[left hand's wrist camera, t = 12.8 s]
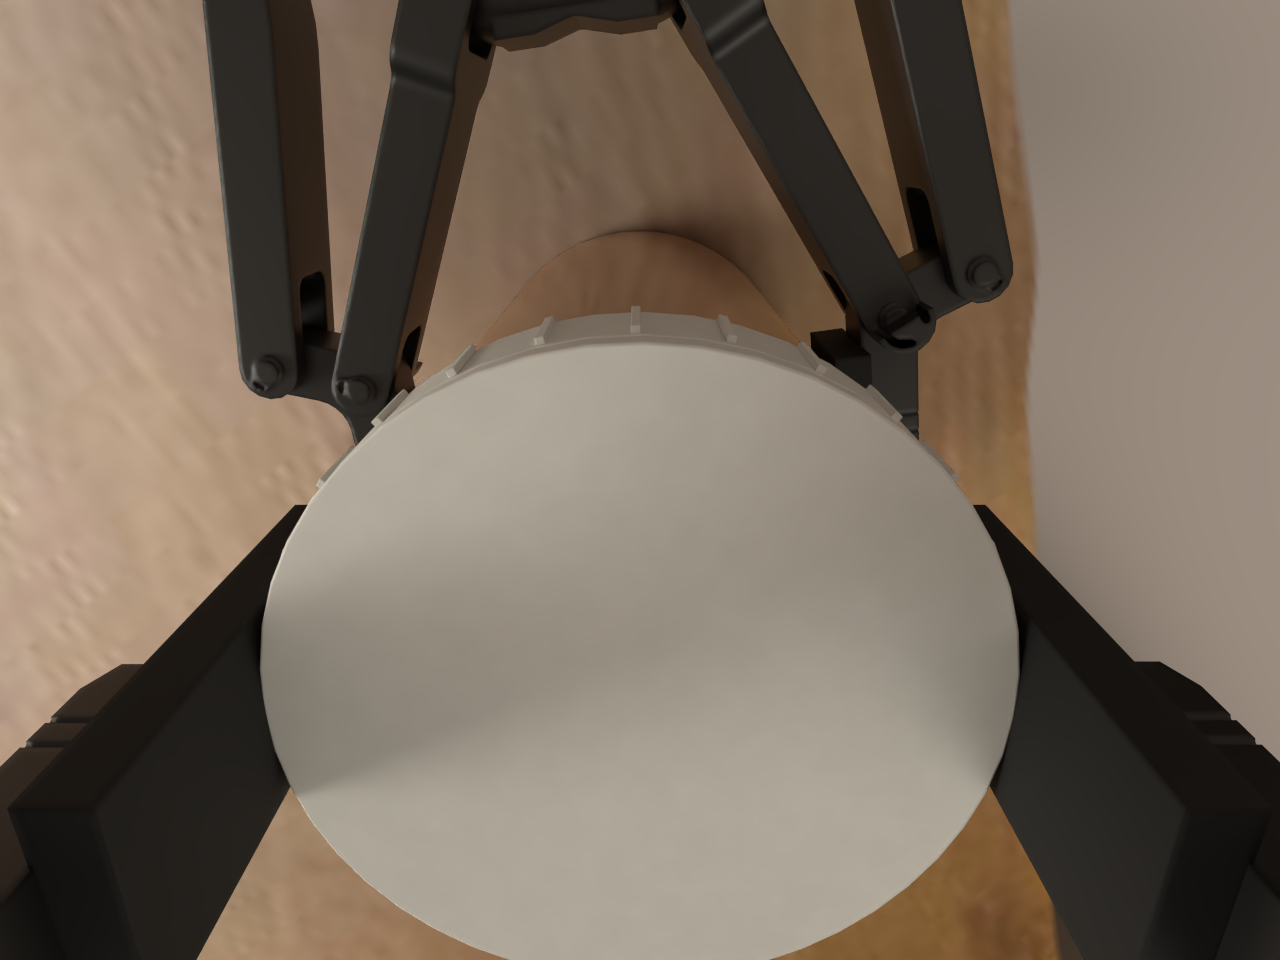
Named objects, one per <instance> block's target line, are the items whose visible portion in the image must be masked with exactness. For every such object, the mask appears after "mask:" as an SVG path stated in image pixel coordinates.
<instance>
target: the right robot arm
mask: <svg viewBox="0 0 1280 960" xmlns="http://www.w3.org/2000/svg"><path fill="white" fill-rule="evenodd" d="M202 1H203V10H204V20H205V30H206V40H207V50H208V60H209V70H210V80H211V90H212V100H213V110H214V120H215V130H216V140H217V150H218V160H219V170H220V180H221V190H222V200H223V210H224V220H225V230H226V240H227V250H228V260H229V270H230V280H231V290H232V300H233V310H234V320H235V330H236V340H237V350H238V360H239V369H240V373H241V376H242V379H243V381H244V382H245V384H246V385H247V386H248V388H249V389H250V390H251V391H253V392H254V393H256V394H257V395H259V396H261V397H265V398H269V399H274V398H282V397H283V396H285V395H287V394H289V395H294V396H299V397H304V398H308V399H313V400H318V401H322V402H325V403H328V404H330V405H331V406H333V407H335V408H336V409H337V410H338V411H339V412H341V413H342V414H343V416H344V417H345V418H346V420H347V421H348V423H349V426H350V428H351V431H352V435H353V438H354V442H355V445H356V446H357V445H358V444H359V443H360V442H361V441H362V439H363V438H364V437H365V436H366V435H367V434H368V433H369V432H370V431H371V430H372V429H373V428H374V427H375V426H374V425H373V424H372V423H371V422H372V421H373V420H374V418H375V417H376V416H377V415H378V414H379V413H380V412H381V411H382V410H383V409H384V408H385V407H386V406H387V405H388V404H389V403H390V402H391V401H392V400H393V399H394V398H395V397H396V396H397V395H398V394H399V393H400V392H401V391H402V390H403V389H405V390H406V391H407V392H408V393H410V392H411V391H413V390H414V389H415V385H414V381H413V376H414V375H415V374H416V373H417V372H418V371H419V370H420V367H421V365H422V362H419V361H418V357H419V352H420V348H421V344H422V340H423V335H424V331H425V327H426V323H427V318H428V314H429V310H430V306H431V301H432V297H433V293H434V289H435V284H436V280H437V276H438V272H439V267H440V263H441V259H442V255H443V250H444V246H445V242H446V238H447V234H448V229H449V225H450V221H451V217H452V212H453V208H454V204H455V200H456V195H457V191H458V187H459V183H460V178H461V174H462V170H463V166H464V161H465V157H466V153H467V149H468V144H469V140H470V136H471V132H472V127H473V123H474V119H475V115H476V111H477V107H478V104H479V101H480V99H481V97H482V95H483V93H484V91H485V88H486V85H487V81H488V78H489V74H490V69H491V65H492V61H493V57H494V53H495V48H496V46H500V47H503V48H505V49H506V50H508V51H509V52H510V51H516V50H523V49H529V48H536V47H542V46H546V45H548V44H550V43H553V42H555V41H557V40H559V39H561V38H563V37H565V36H567V35H569V34H571V33H573V32H576V31H578V30H581V29H586V30H593V31H600V32H607V33H614V34H627V33H633V32H640V31H646V30H653V29H657V25H658V23H660V22H662V21H664V20H666V19H668V18H669V17H670V18H671V20H672V22H673V23H674V25H675V27H676V28H677V30H678V32H679V34H680V35H681V37H682V39H683V41H684V42H685V44H686V46H687V47H688V49H689V51H690V52H691V54H692V56H693V57H694V59H695V60H696V61H697V63H698V64H699V65H700V66H701V68H702V69H703V71H704V72H705V74H706V76H707V77H708V79H709V81H710V82H711V84H712V86H713V88H714V89H715V91H716V93H717V95H718V96H719V98H720V100H721V101H722V103H723V105H724V107H725V108H726V110H727V112H728V114H729V115H730V117H731V119H732V121H733V122H734V124H735V126H736V127H737V129H738V131H739V133H740V134H741V136H742V138H743V140H744V141H745V143H746V145H747V146H748V148H749V150H750V152H751V153H752V155H753V157H754V159H755V160H756V162H757V164H758V165H759V167H760V169H761V171H762V172H763V174H764V176H765V178H766V179H767V181H768V183H769V184H770V186H771V188H772V190H773V191H774V193H775V195H776V197H777V198H778V200H779V202H780V203H781V205H782V207H783V209H784V210H785V212H786V214H787V216H788V217H789V219H790V221H791V223H792V224H793V226H794V228H795V229H796V231H797V233H798V235H799V236H800V238H801V240H802V242H803V243H804V245H805V247H806V248H807V250H808V252H809V254H810V255H811V257H812V259H813V261H814V262H815V264H816V266H817V267H818V269H819V271H820V273H821V274H822V276H823V278H824V280H825V281H826V283H827V285H828V286H829V288H830V290H831V292H832V293H833V295H834V297H835V299H836V300H837V302H838V304H839V306H840V307H841V309H842V311H843V312H844V313H845V318H846V331H844V330H843V329H842V328H840V329H833V330H826V331H818V332H811V333H810V335H811V349H812V351H813V352H814V353H815V354H816V355H817V357H818V358H820V359H822V360H824V361H826V362H828V363H829V364H831V365H832V366H834V367H835V368H837V369H838V370H840V371H841V372H842V373H844V374H845V375H847V376H848V377H849V378H851V379H852V380H854V381H855V382H857V383H858V384H859V385H861V386H862V387H864V388H865V389H866V388H867V387H868V386H869V385H872V386H873V387H874V388H875V389H876V390H877V391H878V392H879V393H880V394H881V395H882V396H883V397H884V398H885V399H886V400H887V401H888V402H889V403H890V404H891V405H892V406H893V407H894V408H895V409H896V410H897V411H898V412H899V414H900V415H901V416H902V419H901V420H900V422H901V423H902V424H903V425H904V426H905V427H906V428H907V429H908V430H909V431H910V432H911V433H912V434H913V435H914V436H915V437H916V439H917V440H918V441H919V432H918V428H919V415H918V350H920V349H921V348H922V347H923V346H925V345H926V344H927V343H928V342H929V341H930V339H931V337H932V335H933V333H934V332H935V327H936V320H937V319H939V318H940V317H942V316H944V315H946V314H948V313H950V312H952V311H954V310H956V309H958V308H960V307H962V306H964V305H966V304H968V303H970V302H975V303H983V302H989V301H991V300H993V299H995V298H996V297H998V296H1000V295H1001V294H1002V293H1003V291H1004V290H1005V289H1006V288H1007V287H1008V285H1009V283H1010V280H1011V278H1012V275H1013V261H1012V256H1011V251H1010V246H1009V240H1008V235H1007V230H1006V225H1005V220H1004V215H1003V210H1002V205H1001V200H1000V194H999V189H998V184H997V179H996V174H995V169H994V164H993V159H992V154H991V148H990V143H989V138H988V133H987V128H986V123H985V118H984V113H983V108H982V103H981V97H980V92H979V87H978V82H977V77H976V72H975V67H974V62H973V57H972V51H971V46H970V41H969V36H968V31H967V26H966V21H965V16H964V11H963V5H962V0H854V1H855V5H856V9H857V14H858V18H859V22H860V26H861V31H862V35H863V39H864V43H865V47H866V52H867V56H868V60H869V64H870V68H871V73H872V77H873V81H874V85H875V90H876V94H877V98H878V102H879V106H880V111H881V115H882V119H883V123H884V127H885V132H886V136H887V140H888V144H889V149H890V153H891V157H892V161H893V165H894V170H895V174H896V178H897V182H898V186H899V191H900V195H901V199H902V203H903V208H904V212H905V216H906V220H907V224H908V229H909V233H910V237H911V241H912V245H913V250H914V251H912V252H910V253H908V254H906V255H905V256H903V257H901V258H899V259H898V257H897V255H896V253H895V251H894V250H893V248H892V246H891V244H890V242H889V240H888V238H887V237H886V235H885V233H884V231H883V229H882V227H881V226H880V224H879V222H878V220H877V218H876V216H875V214H874V213H873V211H872V209H871V207H870V205H869V203H868V201H867V200H866V198H865V196H864V194H863V192H862V190H861V189H860V187H859V185H858V183H857V181H856V179H855V177H854V176H853V174H852V172H851V170H850V168H849V166H848V165H847V163H846V161H845V159H844V157H843V155H842V153H841V152H840V150H839V148H838V146H837V144H836V142H835V141H834V139H833V137H832V135H831V133H830V131H829V129H828V128H827V126H826V124H825V122H824V120H823V118H822V117H821V115H820V113H819V111H818V109H817V107H816V105H815V104H814V102H813V100H812V98H811V96H810V94H809V93H808V91H807V89H806V87H805V85H804V83H803V81H802V80H801V78H800V76H799V74H798V72H797V70H796V68H795V67H794V65H793V63H792V61H791V59H790V57H789V56H788V54H787V52H786V50H785V48H784V46H783V44H782V43H781V41H780V39H779V37H778V35H777V33H776V32H775V30H774V28H773V26H772V24H771V22H770V20H769V17H768V15H767V11H766V7H765V4H764V1H763V0H399V3H398V9H397V14H396V19H395V24H394V29H393V34H392V39H391V46H390V66H391V72H392V76H391V85H390V90H389V95H388V100H387V105H386V110H385V115H384V120H383V125H382V130H381V135H380V140H379V145H378V150H377V155H376V160H375V165H374V170H373V175H372V181H371V186H370V191H369V196H368V201H367V206H366V211H365V216H364V221H363V226H362V231H361V236H360V241H359V246H358V251H357V256H356V261H355V266H354V271H353V276H352V281H351V286H350V291H349V296H348V301H347V306H346V311H345V316H344V321H343V326H342V331H341V333H337V332H334V316H333V298H332V281H331V263H330V245H329V228H328V210H327V192H326V174H325V157H324V139H323V121H322V103H321V86H320V68H319V50H318V40H317V31H316V23H315V18H314V13H313V9H312V4H311V0H202ZM417 361H418V362H417Z"/></svg>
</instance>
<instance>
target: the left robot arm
mask: <svg viewBox="0 0 1280 960" xmlns="http://www.w3.org/2000/svg"><path fill="white" fill-rule="evenodd" d="M973 506H974V508H975V510H976V512H977V514H978V515H979V517H980V519H981V521H982V523H983V525H984V526H985V528H986V530H987V532H988V534H989V535H990V537H991V539H992V540H993V541H994V543H995V546H996V549H997V552H998V555H999V557H1000V560H1001V563H1002V566H1003V568H1004V571H1005V574H1006V577H1007V579H1008V582H1009V585H1010V588H1011V593H1012V598H1013V603H1014V609H1015V614H1016V619H1017V625H1018V630H1019V661H1020V677H1019V685H1018V693H1017V699H1016V705H1015V710H1014V716H1013V720H1012V725H1011V729H1010V733H1009V736H1008V740H1007V743H1006V747H1005V750H1004V754H1003V757H1002V759H1001V761H1000V763H999V765H998V768H997V770H996V772H995V774H994V776H993V778H992V781H991V783H990V787H991V789H992V791H993V793H994V795H995V797H996V798H997V800H998V802H999V804H1000V806H1001V808H1002V809H1003V811H1004V813H1005V815H1006V817H1007V819H1008V820H1009V822H1010V824H1011V826H1012V828H1013V830H1014V832H1015V833H1016V835H1017V837H1018V839H1019V841H1020V843H1021V844H1022V846H1023V848H1024V850H1025V852H1026V854H1027V855H1028V857H1029V859H1030V861H1031V863H1032V865H1033V866H1034V868H1035V870H1036V872H1037V874H1038V876H1039V878H1040V879H1041V881H1042V883H1043V885H1044V887H1045V889H1046V890H1047V892H1048V894H1049V896H1050V898H1051V900H1052V901H1053V903H1054V905H1055V907H1056V909H1057V911H1058V913H1059V914H1060V916H1061V918H1062V920H1063V922H1064V924H1065V925H1066V927H1067V929H1068V931H1069V933H1070V935H1071V936H1072V938H1073V940H1074V942H1075V944H1076V946H1077V948H1078V949H1079V951H1080V953H1081V955H1082V957H1083V959H1084V960H1280V762H1279V761H1278V760H1277V759H1276V758H1275V757H1274V756H1273V755H1272V754H1271V753H1270V752H1269V751H1268V750H1267V749H1266V748H1264V747H1263V746H1262V745H1257V744H1256V743H1255V738H1254V737H1253V736H1252V735H1251V734H1250V733H1249V732H1248V731H1247V730H1246V729H1245V728H1244V727H1243V726H1242V725H1241V724H1240V723H1239V722H1238V721H1237V720H1231V717H1230V714H1229V713H1228V712H1227V711H1226V710H1225V709H1224V708H1223V707H1222V706H1221V705H1220V704H1219V703H1218V702H1217V701H1216V700H1215V699H1214V698H1213V697H1212V696H1211V695H1210V694H1209V693H1208V692H1207V691H1206V690H1205V689H1204V688H1203V687H1201V686H1200V685H1199V684H1197V683H1195V682H1193V681H1192V680H1190V679H1188V678H1187V677H1185V676H1183V675H1181V674H1180V673H1178V672H1176V671H1175V670H1173V669H1171V668H1170V667H1168V666H1166V665H1165V664H1163V663H1161V662H1134V661H1133V660H1132V659H1131V658H1130V657H1129V655H1128V654H1127V653H1126V652H1125V651H1124V650H1123V649H1122V648H1121V647H1120V646H1119V645H1118V644H1117V643H1116V642H1115V641H1114V640H1113V639H1112V638H1111V637H1110V635H1109V634H1108V633H1107V632H1106V631H1105V630H1104V629H1103V628H1102V627H1101V626H1100V625H1099V624H1098V623H1097V622H1096V621H1095V620H1094V619H1093V618H1092V617H1091V616H1090V615H1089V613H1088V612H1087V611H1086V610H1085V609H1084V608H1083V607H1082V606H1081V605H1080V604H1079V603H1078V602H1077V601H1076V600H1075V599H1074V598H1073V597H1072V596H1071V595H1070V593H1069V592H1068V591H1067V590H1066V589H1065V588H1064V587H1063V586H1062V585H1061V584H1060V583H1059V582H1058V581H1057V580H1056V579H1055V578H1054V577H1053V576H1052V575H1051V573H1049V571H1048V570H1047V569H1046V568H1045V567H1044V566H1043V565H1042V564H1041V563H1040V562H1039V561H1038V560H1037V559H1036V558H1035V557H1034V556H1033V555H1032V554H1031V552H1030V551H1029V550H1028V549H1027V548H1026V547H1025V546H1024V545H1023V544H1022V543H1021V542H1020V541H1019V540H1018V539H1017V538H1016V537H1015V536H1014V535H1013V534H1012V533H1011V531H1010V530H1009V529H1008V528H1007V527H1006V526H1005V525H1004V524H1003V523H1002V522H1001V521H1000V520H999V519H998V518H997V517H996V516H995V515H994V514H993V513H992V512H991V510H990V509H989V508H988V507H987V506H986V505H973ZM306 507H307V505H295V506H294V507H293V508H292V509H291V510H290V511H289V512H288V513H287V514H286V515H285V516H284V517H283V518H282V519H281V520H280V521H279V523H278V524H277V525H276V526H275V527H274V528H273V529H272V530H271V531H270V532H269V533H268V534H267V535H266V536H265V537H264V538H263V539H262V540H261V541H260V542H259V544H258V545H257V546H256V547H255V548H254V549H253V550H252V551H251V552H250V553H249V554H248V555H247V556H246V557H245V558H244V559H243V560H242V561H241V562H240V563H239V565H238V566H237V567H236V568H235V569H234V570H233V571H232V572H231V573H230V574H229V575H228V576H227V577H226V578H225V579H224V580H223V581H222V582H221V583H220V585H219V586H218V587H217V588H216V589H215V590H214V591H213V592H212V593H211V594H210V595H209V596H208V597H207V598H206V599H205V600H204V601H203V602H202V603H201V604H200V606H199V607H198V608H197V609H196V610H195V611H194V612H193V613H192V614H191V615H190V616H189V617H188V618H187V619H186V620H185V621H184V622H183V623H182V624H181V625H180V627H179V628H178V629H177V630H176V631H175V632H174V633H173V634H172V635H171V636H170V637H169V638H168V639H167V640H166V641H165V642H164V643H163V644H162V645H161V647H160V648H159V649H158V650H157V651H156V652H155V653H154V654H153V655H152V656H151V657H150V658H149V659H148V660H147V661H146V662H145V663H144V664H121V665H120V666H118V667H116V668H115V669H113V670H111V671H109V672H108V673H106V674H104V675H103V676H101V677H99V678H98V679H96V680H94V681H93V682H91V683H89V684H88V685H86V686H84V687H82V688H81V689H80V690H79V691H78V692H77V693H75V694H74V695H73V696H72V697H71V698H70V699H69V700H68V701H67V702H66V703H65V704H64V705H63V706H62V707H61V708H60V709H59V710H58V711H57V712H56V713H55V714H54V715H53V716H52V717H51V722H50V723H45V724H44V725H43V726H42V727H41V728H40V729H39V730H38V731H37V732H36V733H34V734H33V735H32V736H31V737H30V738H29V739H28V740H27V741H26V743H27V744H26V747H25V748H19V749H18V750H17V751H16V752H15V753H14V754H13V755H12V756H11V757H10V758H9V759H8V760H7V761H6V762H5V763H4V764H3V765H2V766H1V767H0V960H196V959H197V958H198V956H199V954H200V952H201V950H202V948H203V947H204V945H205V943H206V941H207V939H208V937H209V935H210V934H211V932H212V930H213V928H214V926H215V924H216V923H217V921H218V919H219V917H220V915H221V913H222V912H223V910H224V908H225V906H226V904H227V902H228V900H229V899H230V897H231V895H232V893H233V891H234V889H235V888H236V886H237V884H238V882H239V880H240V878H241V877H242V875H243V873H244V871H245V869H246V867H247V865H248V864H249V862H250V860H251V858H252V856H253V854H254V853H255V851H256V849H257V847H258V845H259V843H260V842H261V840H262V838H263V836H264V834H265V832H266V831H267V829H268V827H269V825H270V823H271V821H272V819H273V818H274V816H275V814H276V812H277V810H278V808H279V807H280V805H281V803H282V801H283V799H284V797H285V796H286V794H287V792H288V790H289V788H290V784H289V782H288V780H287V777H286V775H285V773H284V770H283V768H282V766H281V763H280V761H279V759H278V756H277V754H276V752H275V749H274V745H273V741H272V738H271V733H270V729H269V724H268V720H267V715H266V710H265V704H264V699H263V693H262V686H261V677H260V652H261V631H262V622H263V617H264V612H265V608H266V603H267V598H268V593H269V589H270V584H271V581H272V578H273V576H274V573H275V570H276V568H277V565H278V563H279V560H280V558H281V554H282V551H283V548H284V547H285V545H286V542H287V540H288V538H289V536H290V535H291V533H292V531H293V529H294V528H295V526H296V524H297V523H298V521H299V519H300V517H301V516H302V514H303V512H304V511H305V509H306Z"/></svg>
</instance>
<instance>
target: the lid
mask: <svg viewBox="0 0 1280 960" xmlns="http://www.w3.org/2000/svg"><path fill="white" fill-rule="evenodd" d="M901 419H902V416H901V415H900V414H899V412H898V411H897V410H896V409H895V408H894V407H893V406H892V405H891V404H890V403H889V402H888V401H887V400H886V399H885V398H884V397H883V396H882V395H881V394H880V393H879V392H878V391H877V390H876V389H875V388H874V387H873V386H872V385H869V386H868V387H867V388H866V389H865V388H864V387H862V386H861V385H859V384H858V383H857V382H855V381H854V380H852V379H851V378H849V377H848V376H847V375H845V374H844V373H842V372H841V371H840V370H838V369H837V368H835V367H834V366H832V365H831V364H829V363H828V362H826V361H824V360H822V359H820V358H818V357H817V355H816V354H815V353H814V352H813V351H812V349H811V348H810V347H809V346H808V345H807V344H806V343H804V342H802V341H800V343H799V344H798V346H795V345H793V344H791V343H789V342H786V341H784V340H781V339H778V338H775V337H772V336H769V335H767V334H764V333H761V332H758V331H755V330H752V329H750V328H747V327H744V326H741V325H736V324H731V323H730V321H729V319H728V317H727V316H726V315H721V314H719V316H718V320H712V319H707V318H702V317H698V316H692V315H678V314H665V313H652V312H640V306H632V308H631V313H615V314H597V315H589V316H584V317H579V318H574V319H568V320H563V321H558V322H555V320H554V317H553V316H550V317H546V318H545V319H544V321H543V323H542V325H540V326H537V327H534V328H531V329H528V330H525V331H522V332H519V333H516V334H513V335H510V336H507V337H504V338H501V339H498V340H496V341H494V342H492V343H490V344H488V345H486V346H484V347H482V348H480V349H478V350H476V349H475V347H474V346H473V345H470V346H468V347H466V348H465V349H464V351H463V352H462V353H461V354H460V355H459V356H458V358H457V359H456V360H455V361H454V362H452V363H451V364H449V365H448V366H446V367H445V368H444V369H442V370H441V371H439V372H438V373H436V374H435V375H433V376H432V377H430V378H429V379H427V380H426V381H424V382H423V383H421V384H420V385H419V386H417V387H416V388H415V389H414V390H413V391H411V392H410V393H408V392H407V391H406V390H405V389H403V390H402V391H401V392H400V393H399V394H398V395H397V396H396V397H395V398H394V399H393V400H392V401H391V402H390V403H389V404H388V405H387V406H386V407H385V408H384V409H383V410H382V411H381V412H380V413H379V414H378V415H377V416H376V417H375V418H374V420H373V421H372V422H371V423H372V424H373V425H374V426H375V427H374V428H373V429H372V430H371V431H370V432H369V433H368V434H367V435H366V436H365V437H364V438H363V439H362V441H361V442H360V443H359V444H358V445H357V446H356V447H354V446H351V447H350V448H349V449H348V450H347V451H346V452H345V453H344V454H343V455H342V456H341V457H340V458H339V459H338V460H337V461H336V463H335V464H334V465H333V466H332V467H331V468H330V469H329V470H328V471H327V472H326V473H325V474H324V475H323V476H322V477H321V478H320V479H319V481H318V482H317V484H316V486H318V487H319V488H320V489H319V490H318V491H317V493H316V494H315V495H314V496H313V498H312V499H311V500H310V502H309V504H308V505H307V507H306V509H305V511H304V512H303V514H302V516H301V517H300V519H299V521H298V523H297V524H296V526H295V528H294V529H293V531H292V533H291V535H290V536H289V538H288V540H287V542H286V545H285V547H284V548H283V551H282V554H281V558H280V560H279V563H278V565H277V568H276V570H275V573H274V576H273V578H272V581H271V584H270V589H269V593H268V598H267V603H266V608H265V612H264V617H263V622H262V631H261V652H260V677H261V686H262V693H263V699H264V704H265V710H266V715H267V720H268V724H269V729H270V733H271V738H272V741H273V745H274V749H275V752H276V754H277V756H278V759H279V761H280V763H281V766H282V768H283V770H284V773H285V775H286V777H287V780H288V782H289V784H290V786H291V789H292V790H293V792H294V794H295V795H296V797H297V798H298V800H299V802H300V803H301V805H302V807H303V808H304V810H305V812H306V813H307V815H308V816H309V818H310V820H311V821H312V823H313V824H314V825H315V827H316V828H317V829H318V830H319V832H320V833H321V834H322V835H323V837H324V838H325V839H326V840H327V842H328V843H329V844H330V845H331V847H332V848H333V849H334V850H335V851H336V853H337V854H338V855H339V856H340V857H341V858H342V859H343V860H344V861H345V862H346V863H347V864H348V865H349V866H350V867H351V868H352V869H353V870H354V871H355V872H356V873H358V874H359V875H360V876H361V877H362V878H363V879H364V880H365V881H366V882H367V883H368V884H369V885H371V886H372V887H373V888H375V889H376V890H377V891H378V892H380V893H381V894H382V895H384V896H385V897H386V898H388V899H389V900H390V901H392V902H393V903H394V904H395V905H397V906H398V907H399V908H401V909H402V910H404V911H406V912H407V913H409V914H411V915H412V916H414V917H416V918H417V919H419V920H421V921H422V922H424V923H426V924H427V925H429V926H431V927H432V928H434V929H436V930H438V931H440V932H442V933H444V934H446V935H448V936H451V937H453V938H455V939H457V940H459V941H461V942H463V943H466V944H468V945H470V946H472V947H474V948H477V949H480V950H483V951H486V952H489V953H491V954H494V955H497V956H500V957H503V958H506V959H509V960H770V959H773V958H776V957H779V956H782V955H785V954H788V953H791V952H794V951H797V950H800V949H803V948H805V947H807V946H809V945H811V944H814V943H816V942H818V941H820V940H823V939H825V938H827V937H829V936H831V935H834V934H836V933H838V932H840V931H842V930H843V929H845V928H847V927H849V926H850V925H852V924H854V923H855V922H857V921H859V920H861V919H862V918H864V917H866V916H867V915H869V914H871V913H873V912H874V911H876V910H877V909H878V908H880V907H881V906H882V905H884V904H885V903H887V902H888V901H889V900H891V899H892V898H893V897H895V896H896V895H897V894H899V893H900V892H901V891H903V890H904V889H905V888H907V887H908V886H909V885H910V884H911V883H912V882H913V881H915V880H916V879H917V878H918V877H919V876H920V875H921V874H922V873H923V872H924V871H925V870H926V869H927V868H928V867H929V866H931V865H932V864H933V863H934V862H935V861H936V860H937V859H938V858H939V857H940V855H941V854H942V853H943V852H944V851H945V849H946V848H947V847H948V846H949V845H950V844H951V842H952V841H953V840H954V839H955V838H956V836H957V835H958V834H959V833H960V832H961V830H962V829H963V828H964V827H965V825H966V823H967V822H968V820H969V819H970V817H971V816H972V814H973V812H974V811H975V809H976V808H977V806H978V805H979V803H980V801H981V800H982V798H983V797H984V795H985V794H986V792H987V789H988V787H989V785H990V783H991V781H992V778H993V776H994V774H995V772H996V770H997V768H998V765H999V763H1000V761H1001V759H1002V757H1003V754H1004V750H1005V747H1006V743H1007V740H1008V736H1009V733H1010V729H1011V725H1012V720H1013V716H1014V710H1015V705H1016V699H1017V693H1018V685H1019V677H1020V661H1019V630H1018V625H1017V619H1016V614H1015V609H1014V603H1013V598H1012V593H1011V588H1010V585H1009V582H1008V579H1007V577H1006V574H1005V571H1004V568H1003V566H1002V563H1001V560H1000V557H999V555H998V552H997V549H996V546H995V543H994V541H993V540H992V539H991V537H990V535H989V534H988V532H987V530H986V528H985V526H984V525H983V523H982V521H981V519H980V517H979V515H978V514H977V512H976V510H975V508H974V506H973V505H972V503H971V502H970V501H969V500H968V498H967V497H966V496H965V494H964V493H963V492H962V491H961V489H960V488H959V487H958V485H957V484H956V483H955V482H956V481H958V480H959V479H960V478H959V477H958V475H957V474H956V473H955V472H954V470H953V469H952V468H951V467H950V466H949V465H948V464H947V463H946V462H945V461H944V460H943V459H942V458H941V457H940V456H939V455H938V454H937V453H936V452H935V451H934V450H933V449H932V448H931V447H930V446H929V444H928V443H927V442H926V441H925V440H923V441H922V442H919V441H918V440H917V439H916V437H915V436H914V435H913V434H912V433H911V432H910V431H909V430H908V429H907V428H906V427H905V426H904V425H903V424H902V423H901V422H900V420H901Z"/></svg>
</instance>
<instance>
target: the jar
mask: <svg viewBox="0 0 1280 960" xmlns="http://www.w3.org/2000/svg"><path fill="white" fill-rule="evenodd" d="M632 306H640V312H652V313H665V314H678V315H692V316H698V317H702V318H707V319H712V320H718V316H719V314H721V315H726V316H727V317H728V319H729V321H730V323H731V324H736V325H741V326H744V327H747V328H750V329H752V330H755V331H758V332H761V333H764V334H767V335H769V336H772V337H775V338H778V339H781V340H784V341H786V342H789V343H791V344H793V345H795V346H798V344H799V343H800V341H799V340H798V339H797V338H796V336H795V335H794V334H793V333H792V331H791V330H790V329H789V328H788V326H787V325H786V324H785V323H784V322H783V320H782V319H781V318H780V317H779V315H778V314H777V313H776V312H775V310H774V309H773V308H772V307H771V305H770V304H769V303H768V302H767V301H766V299H765V298H764V297H763V296H762V294H761V293H760V292H759V291H758V289H757V288H756V287H755V286H754V285H753V283H752V282H751V281H750V280H749V278H748V277H747V276H745V275H744V274H743V273H742V272H741V271H740V270H739V269H738V268H737V267H736V266H735V265H734V264H732V263H731V262H730V261H728V260H727V259H725V258H724V257H723V256H721V255H720V254H718V253H717V252H715V251H713V250H711V249H709V248H707V247H705V246H703V245H702V244H700V243H697V242H694V241H691V240H689V239H686V238H683V237H680V236H675V235H670V234H666V233H661V232H648V231H631V232H619V233H614V234H609V235H604V236H599V237H596V238H594V239H591V240H588V241H585V242H582V243H580V244H578V245H576V246H574V247H572V248H570V249H568V250H566V251H564V252H562V253H561V254H559V255H558V256H557V257H555V258H554V259H552V260H551V261H549V262H548V263H547V264H545V265H544V266H543V267H542V268H541V269H540V270H539V271H538V272H537V273H536V274H535V275H533V276H532V278H531V279H530V280H529V281H528V282H527V284H526V285H525V286H524V287H523V288H522V290H521V291H520V292H519V293H518V294H517V296H516V297H515V298H514V299H513V301H512V302H511V303H510V304H509V306H508V307H507V308H506V309H505V311H504V312H503V313H502V314H501V316H500V317H499V318H498V319H497V321H496V322H495V323H494V324H493V325H492V327H491V328H490V329H489V330H488V332H487V333H486V334H485V335H484V337H483V338H482V339H481V340H480V342H479V343H478V344H477V345H476V347H475V349H476V350H478V349H480V348H482V347H484V346H486V345H488V344H490V343H492V342H494V341H496V340H498V339H501V338H504V337H507V336H510V335H513V334H516V333H519V332H522V331H525V330H528V329H531V328H534V327H537V326H540V325H542V323H543V321H544V319H545V318H546V317H550V316H553V317H554V320H555V322H558V321H563V320H568V319H574V318H579V317H584V316H589V315H597V314H615V313H631V308H632Z"/></svg>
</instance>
